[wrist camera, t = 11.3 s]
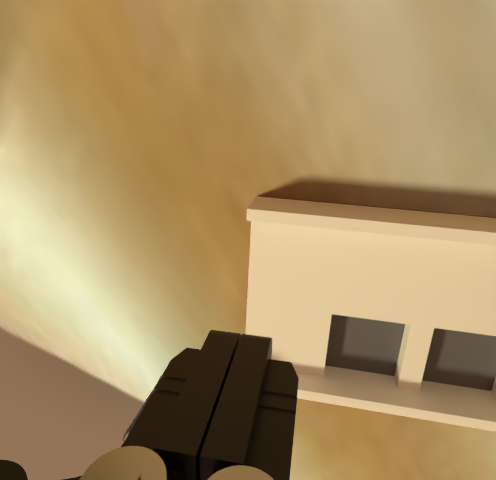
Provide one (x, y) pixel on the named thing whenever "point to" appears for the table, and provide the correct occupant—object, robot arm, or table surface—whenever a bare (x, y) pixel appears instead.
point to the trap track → (378, 306)
